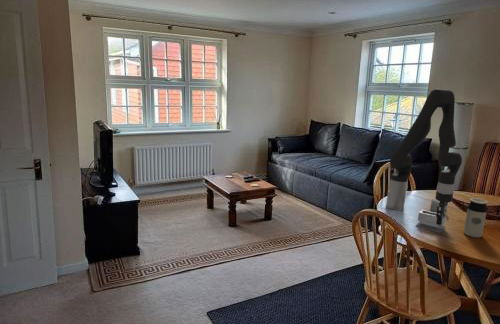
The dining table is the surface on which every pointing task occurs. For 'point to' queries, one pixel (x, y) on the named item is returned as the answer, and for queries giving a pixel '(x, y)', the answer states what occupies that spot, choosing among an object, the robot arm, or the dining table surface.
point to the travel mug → (475, 217)
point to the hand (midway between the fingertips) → (439, 222)
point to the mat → (430, 226)
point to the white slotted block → (430, 217)
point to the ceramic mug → (434, 205)
